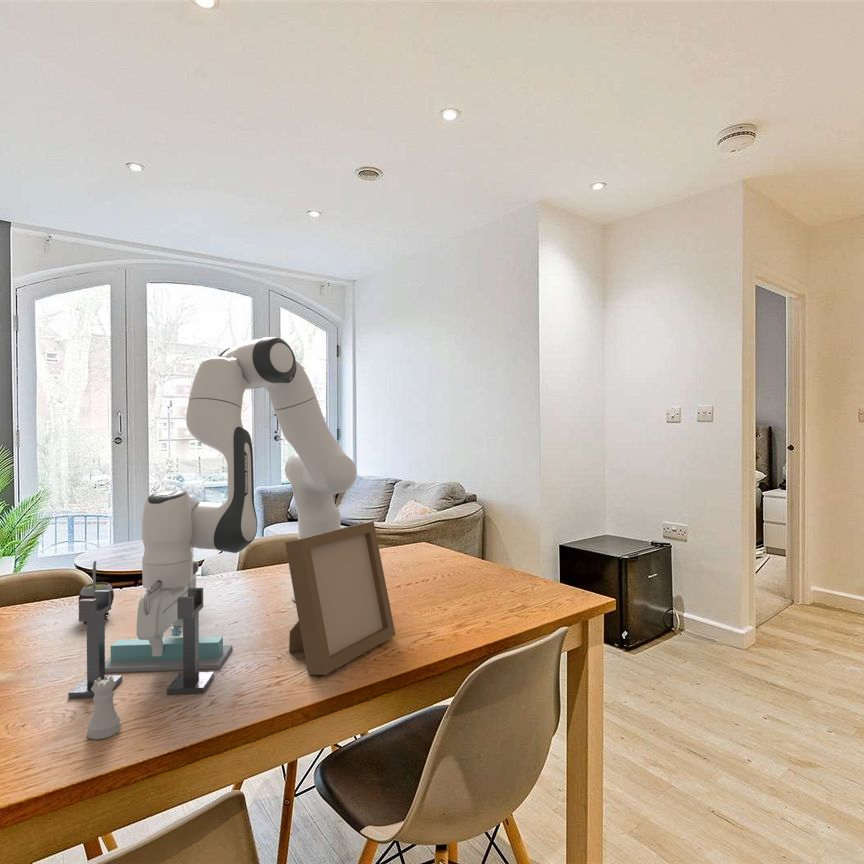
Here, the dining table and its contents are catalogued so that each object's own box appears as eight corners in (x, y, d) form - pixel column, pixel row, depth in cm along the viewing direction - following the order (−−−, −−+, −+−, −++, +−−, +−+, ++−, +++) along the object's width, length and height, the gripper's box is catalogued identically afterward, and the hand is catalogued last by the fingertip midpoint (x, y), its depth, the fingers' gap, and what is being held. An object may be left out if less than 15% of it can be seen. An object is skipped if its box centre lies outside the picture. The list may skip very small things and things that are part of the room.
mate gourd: (99, 612, 135) (98, 551, 134) (123, 616, 132) (123, 554, 132) (69, 623, 127) (69, 558, 127) (95, 627, 125) (94, 561, 125)
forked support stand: (213, 677, 101) (213, 587, 101) (203, 693, 95) (202, 598, 95) (87, 681, 99) (86, 590, 99) (68, 698, 93) (67, 601, 93)
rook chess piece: (96, 725, 85) (95, 673, 85) (126, 723, 86) (126, 672, 85) (80, 741, 81) (79, 687, 81) (112, 740, 81) (111, 686, 81)
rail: (222, 651, 110) (222, 636, 110) (218, 657, 107) (218, 642, 107) (118, 654, 109) (117, 639, 109) (110, 661, 106) (110, 645, 106)
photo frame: (395, 639, 118) (394, 523, 118) (325, 680, 100) (323, 542, 100) (343, 626, 126) (341, 517, 126) (268, 662, 108) (266, 534, 107)
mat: (232, 648, 113) (232, 645, 113) (219, 668, 104) (219, 664, 104) (120, 652, 112) (120, 648, 111) (97, 672, 103) (97, 668, 103)
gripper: (163, 590, 98) (164, 667, 98) (201, 560, 118) (201, 625, 118) (126, 591, 97) (126, 669, 97) (170, 561, 117) (171, 625, 118)
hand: (168, 644), depth 108 cm, fingers open, 8 cm apart
